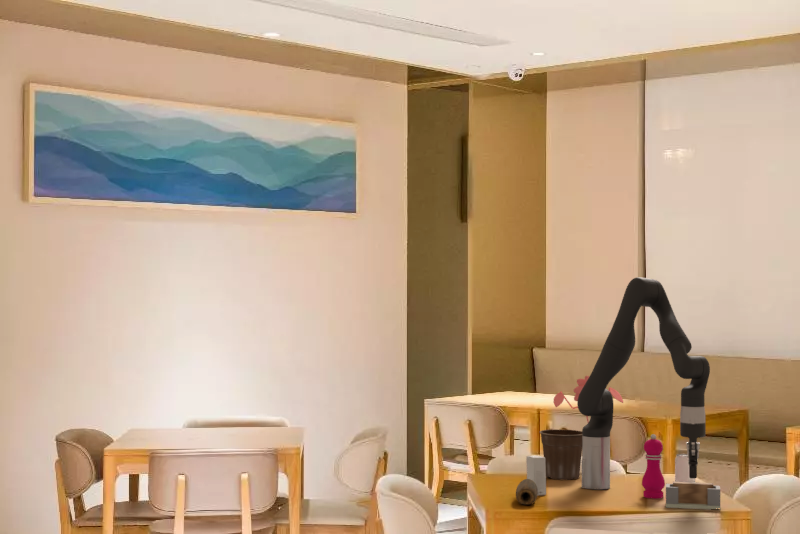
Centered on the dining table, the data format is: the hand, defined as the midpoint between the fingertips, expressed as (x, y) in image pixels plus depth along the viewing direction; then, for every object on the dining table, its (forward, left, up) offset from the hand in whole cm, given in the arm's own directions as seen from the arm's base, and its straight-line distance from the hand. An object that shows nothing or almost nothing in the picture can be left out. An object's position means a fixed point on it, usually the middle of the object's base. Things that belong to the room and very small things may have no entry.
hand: (693, 477), depth 359 cm
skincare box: (-49, +10, -9) cm, 51 cm away
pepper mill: (-12, +14, -9) cm, 21 cm away
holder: (0, 0, -9) cm, 9 cm away
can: (-2, +28, -9) cm, 29 cm away
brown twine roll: (-50, -7, -9) cm, 51 cm away
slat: (0, 0, -8) cm, 8 cm away
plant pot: (-44, +48, -9) cm, 66 cm away
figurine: (-36, +70, -9) cm, 79 cm away
